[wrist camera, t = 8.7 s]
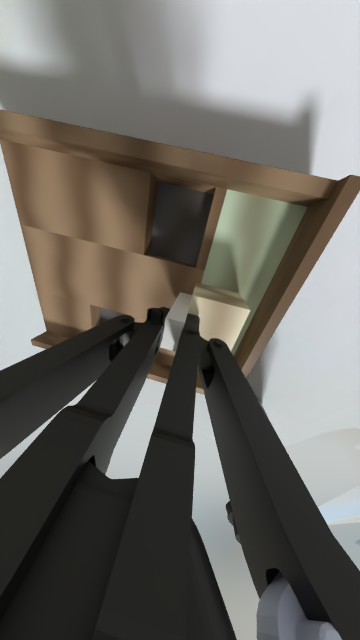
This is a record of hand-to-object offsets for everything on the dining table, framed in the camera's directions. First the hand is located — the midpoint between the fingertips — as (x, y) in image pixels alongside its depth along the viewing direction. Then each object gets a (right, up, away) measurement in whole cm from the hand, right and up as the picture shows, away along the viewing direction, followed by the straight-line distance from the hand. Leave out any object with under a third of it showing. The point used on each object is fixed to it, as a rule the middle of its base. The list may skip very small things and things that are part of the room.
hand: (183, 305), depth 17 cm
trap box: (-5, +3, +4) cm, 7 cm away
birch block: (+3, 0, +1) cm, 4 cm away
